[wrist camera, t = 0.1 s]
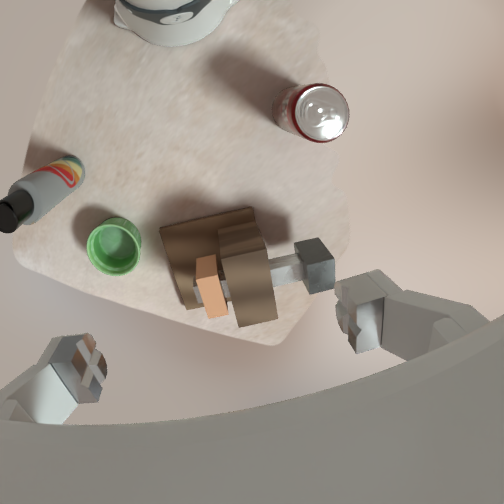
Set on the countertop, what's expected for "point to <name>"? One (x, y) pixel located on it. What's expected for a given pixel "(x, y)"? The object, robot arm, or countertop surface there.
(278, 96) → the soda can
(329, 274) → the shaft
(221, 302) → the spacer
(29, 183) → the lotion bottle
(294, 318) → the countertop surface
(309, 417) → the robot arm
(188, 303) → the shaft stand
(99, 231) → the ramekin
